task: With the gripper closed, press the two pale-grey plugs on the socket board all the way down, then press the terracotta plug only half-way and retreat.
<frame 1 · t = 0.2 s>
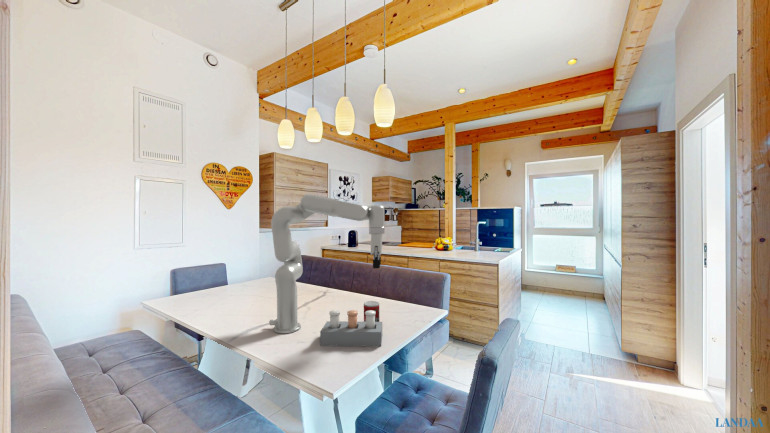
hand: (377, 266, 141), 31 cm above the table, fingers open, 9 cm apart
plug terracotta: (352, 320, 130), point 8 cm above the table, slide at 0.0 cm
canned food: (371, 325, 148), on the table
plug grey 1: (334, 320, 130), point 9 cm above the table, slide at 0.0 cm
socket board: (352, 339, 130), on the table
plug grey 2: (370, 321, 130), point 8 cm above the table, slide at 0.0 cm
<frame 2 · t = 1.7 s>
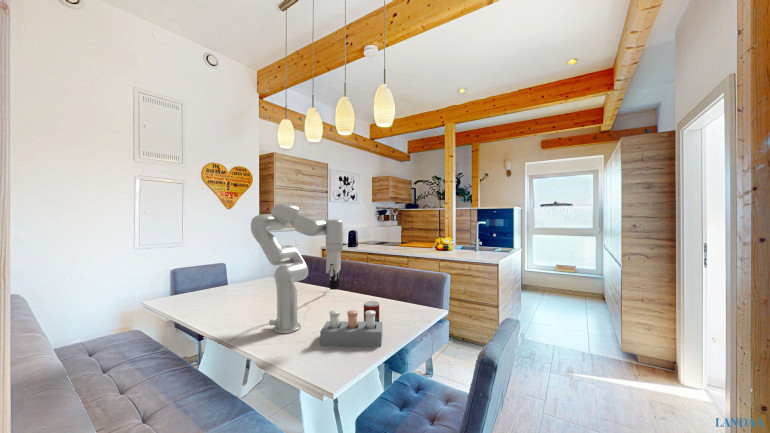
hand: (334, 287, 130), 23 cm above the table, fingers open, 3 cm apart
nothing on the table moved.
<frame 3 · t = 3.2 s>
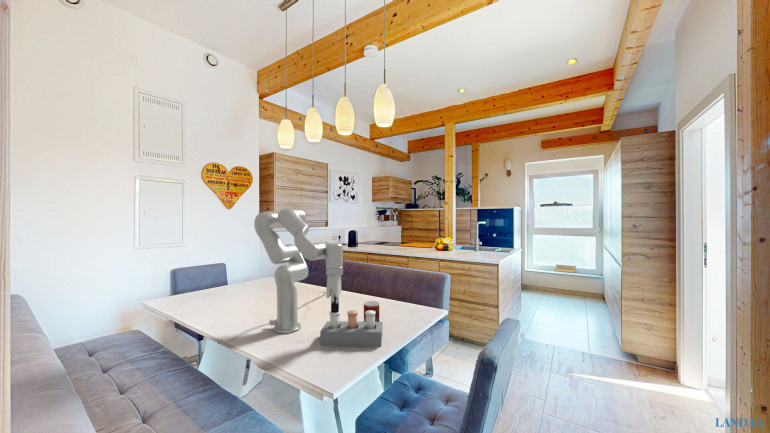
hand: (335, 311, 130), 12 cm above the table, fingers closed
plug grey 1: (334, 320, 130), point 8 cm above the table, slide at 0.1 cm, touching gripper
everything else where it was.
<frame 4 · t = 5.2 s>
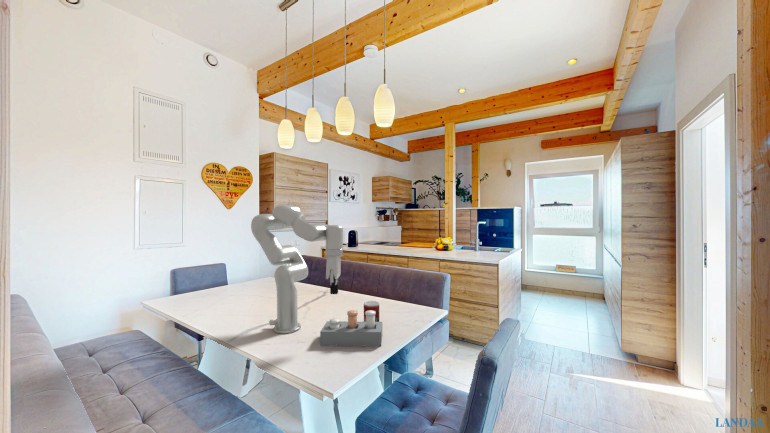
hand: (334, 293, 130), 21 cm above the table, fingers closed
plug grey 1: (334, 329, 130), point 5 cm above the table, slide at 3.7 cm
everything else where it was.
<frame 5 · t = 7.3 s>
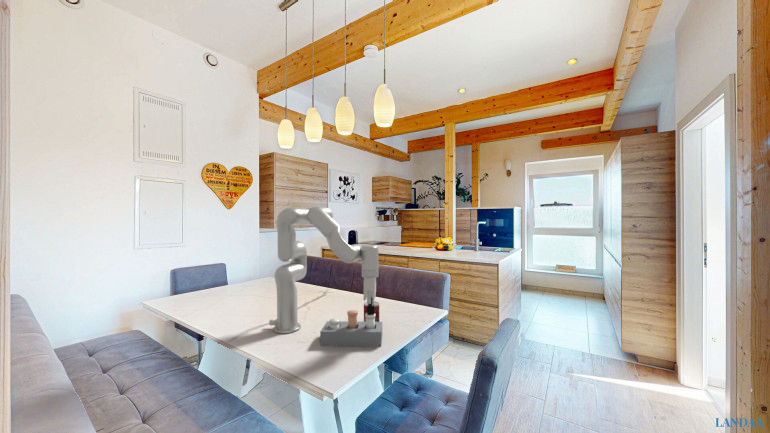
hand: (370, 314, 130), 12 cm above the table, fingers closed
plug grey 2: (370, 323, 130), point 8 cm above the table, slide at 1.0 cm, touching gripper
everything else where it was.
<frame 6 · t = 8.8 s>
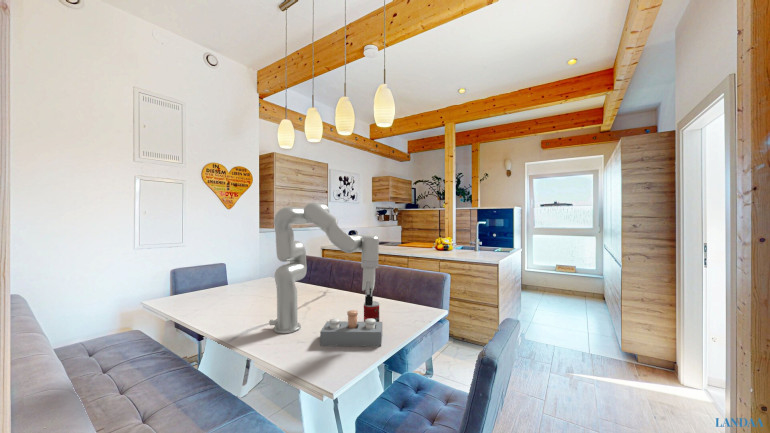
hand: (368, 304, 130), 16 cm above the table, fingers closed
plug grey 2: (370, 329, 130), point 5 cm above the table, slide at 3.7 cm
everything else where it was.
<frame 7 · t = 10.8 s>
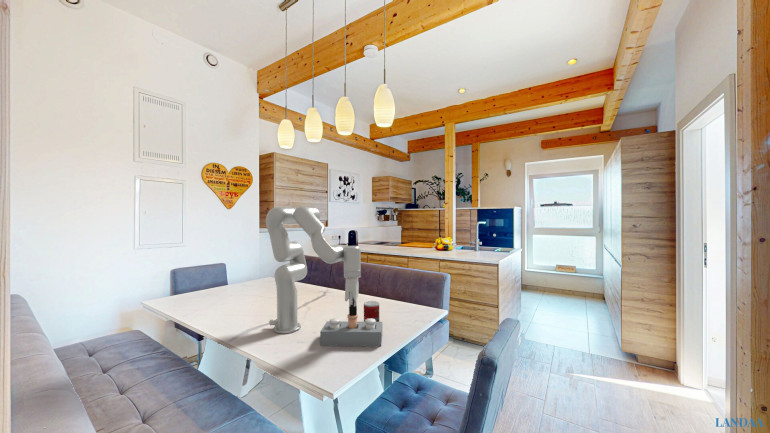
hand: (353, 314, 130), 11 cm above the table, fingers closed
plug terracotta: (352, 323, 130), point 7 cm above the table, slide at 1.4 cm, touching gripper
everything else where it was.
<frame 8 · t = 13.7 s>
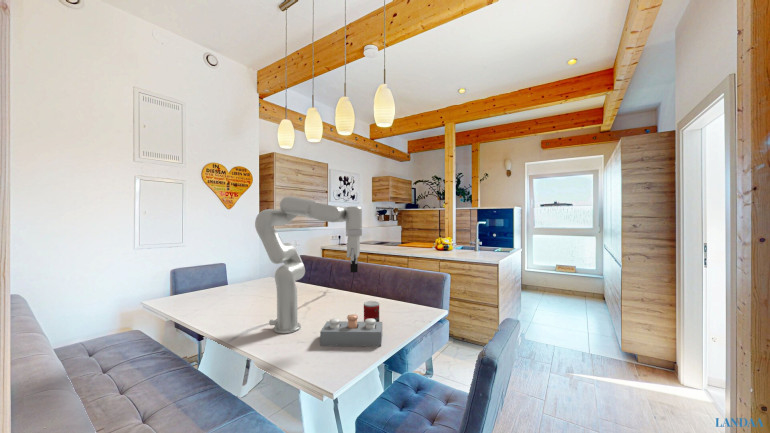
hand: (354, 272, 136), 29 cm above the table, fingers closed
plug terracotta: (352, 325, 130), point 7 cm above the table, slide at 1.9 cm
everything else where it was.
at the end: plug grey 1 slide at 3.7 cm; plug grey 2 slide at 3.7 cm; plug terracotta slide at 1.9 cm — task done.
